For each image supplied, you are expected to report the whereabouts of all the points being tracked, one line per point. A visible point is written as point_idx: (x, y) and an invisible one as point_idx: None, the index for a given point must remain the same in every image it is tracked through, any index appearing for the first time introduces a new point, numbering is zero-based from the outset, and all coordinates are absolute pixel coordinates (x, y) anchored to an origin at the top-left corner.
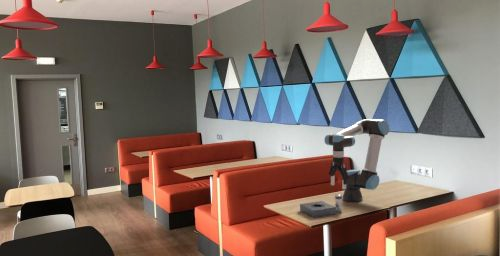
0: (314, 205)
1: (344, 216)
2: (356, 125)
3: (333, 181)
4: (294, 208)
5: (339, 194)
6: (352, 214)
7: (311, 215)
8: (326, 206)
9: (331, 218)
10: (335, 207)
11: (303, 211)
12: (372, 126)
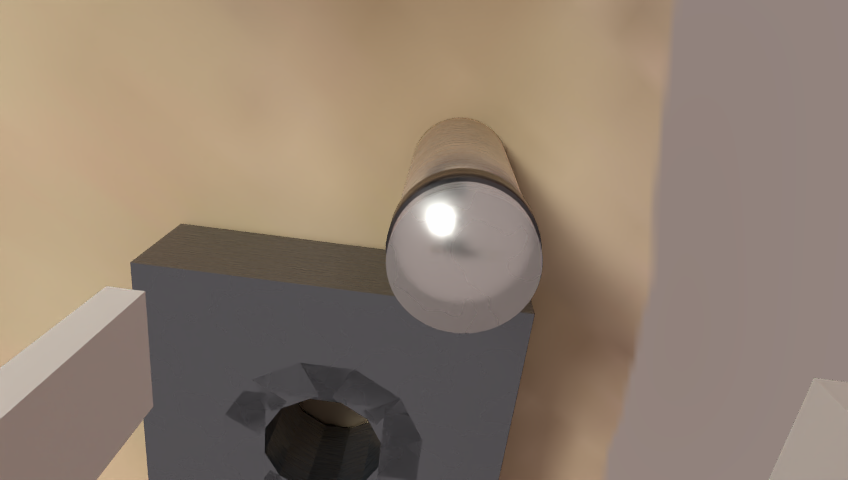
0: (268, 446)
1: (650, 235)
2: None
3: (64, 421)
4: None
5: (436, 214)
6: (666, 81)
7: None
8: (423, 390)
9: (597, 397)
10: (532, 319)
11: None
12: None
